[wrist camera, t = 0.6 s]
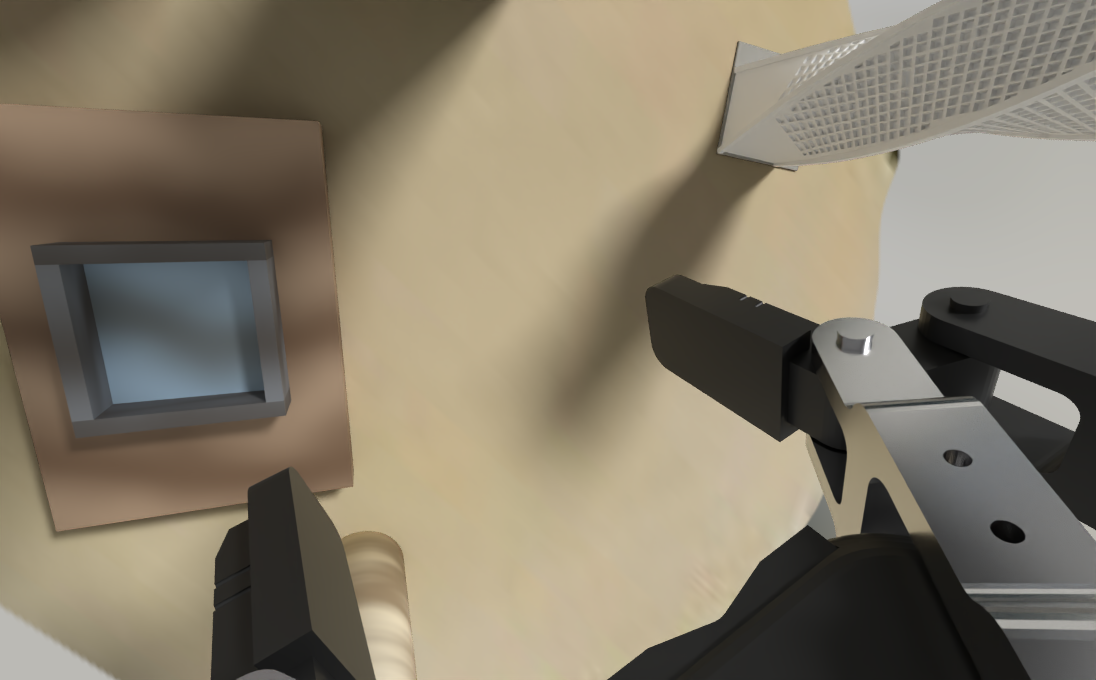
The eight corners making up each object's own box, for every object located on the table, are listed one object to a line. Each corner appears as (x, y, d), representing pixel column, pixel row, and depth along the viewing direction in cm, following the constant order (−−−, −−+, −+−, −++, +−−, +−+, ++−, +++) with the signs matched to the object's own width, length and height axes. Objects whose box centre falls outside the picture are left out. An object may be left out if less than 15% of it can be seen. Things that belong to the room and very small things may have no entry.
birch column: (315, 540, 33) (284, 757, 20) (401, 524, 34) (423, 716, 21) (323, 609, 34) (299, 855, 21) (405, 591, 36) (429, 809, 23)
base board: (-23, 108, 23) (-101, 89, 19) (321, 126, 27) (314, 114, 23) (76, 510, 28) (30, 559, 24) (353, 470, 32) (352, 506, 28)
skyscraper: (788, 191, 38) (1647, 166, 13) (696, 173, 35) (1560, 94, 10) (815, 67, 37) (1876, -250, 11) (721, 38, 34) (1851, -483, 8)
